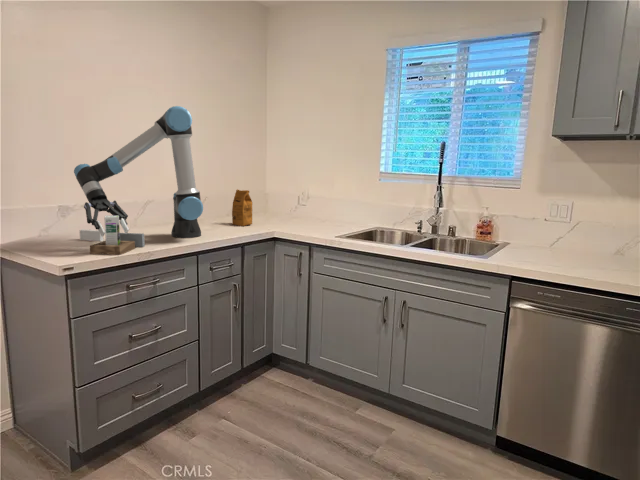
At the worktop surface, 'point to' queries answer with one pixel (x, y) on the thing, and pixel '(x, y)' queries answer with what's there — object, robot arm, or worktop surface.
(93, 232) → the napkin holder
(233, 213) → the coffee package
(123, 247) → the tray
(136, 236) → the backstop wall
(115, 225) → the syrup box
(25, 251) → the worktop surface
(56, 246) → the worktop surface
